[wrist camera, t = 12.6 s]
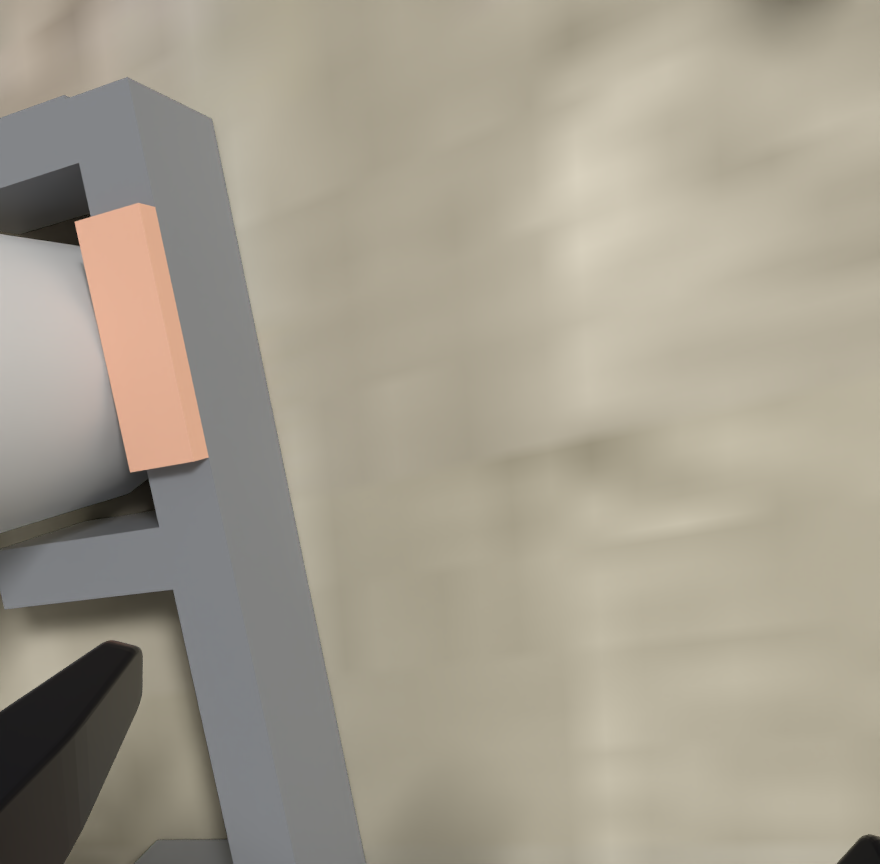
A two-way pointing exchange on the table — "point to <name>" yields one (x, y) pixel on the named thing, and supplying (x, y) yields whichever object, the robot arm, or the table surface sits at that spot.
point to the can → (53, 389)
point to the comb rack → (187, 461)
